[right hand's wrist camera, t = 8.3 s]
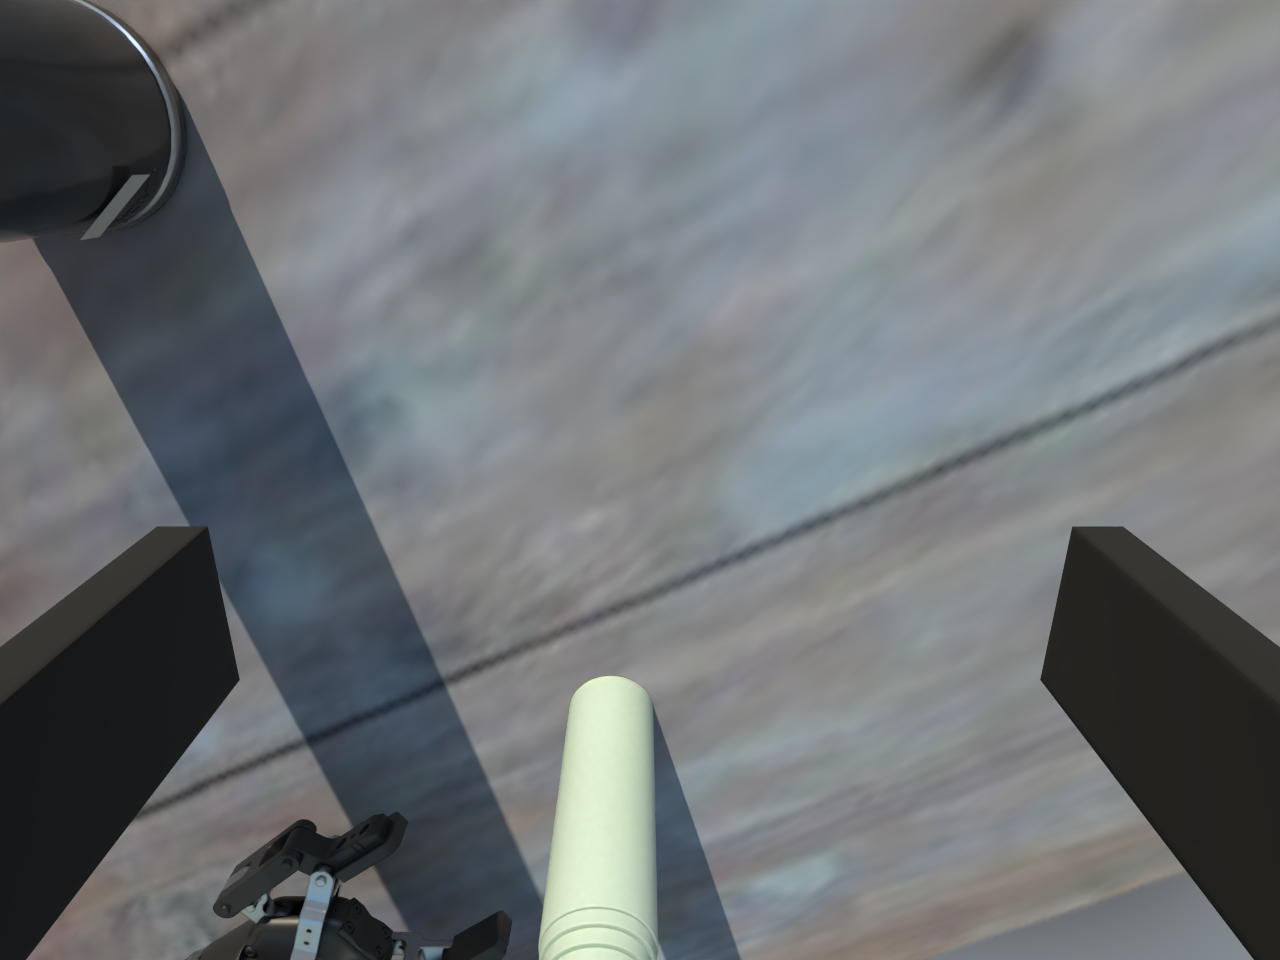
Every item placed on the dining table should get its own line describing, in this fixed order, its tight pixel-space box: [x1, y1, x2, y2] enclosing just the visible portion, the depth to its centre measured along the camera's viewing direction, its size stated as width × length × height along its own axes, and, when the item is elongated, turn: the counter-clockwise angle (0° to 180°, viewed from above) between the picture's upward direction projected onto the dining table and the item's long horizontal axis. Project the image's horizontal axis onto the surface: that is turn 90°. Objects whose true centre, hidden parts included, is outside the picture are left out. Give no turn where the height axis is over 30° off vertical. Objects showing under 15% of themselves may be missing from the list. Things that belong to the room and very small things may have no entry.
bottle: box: [538, 676, 658, 960], centre depth 38 cm, size 5×5×21 cm
